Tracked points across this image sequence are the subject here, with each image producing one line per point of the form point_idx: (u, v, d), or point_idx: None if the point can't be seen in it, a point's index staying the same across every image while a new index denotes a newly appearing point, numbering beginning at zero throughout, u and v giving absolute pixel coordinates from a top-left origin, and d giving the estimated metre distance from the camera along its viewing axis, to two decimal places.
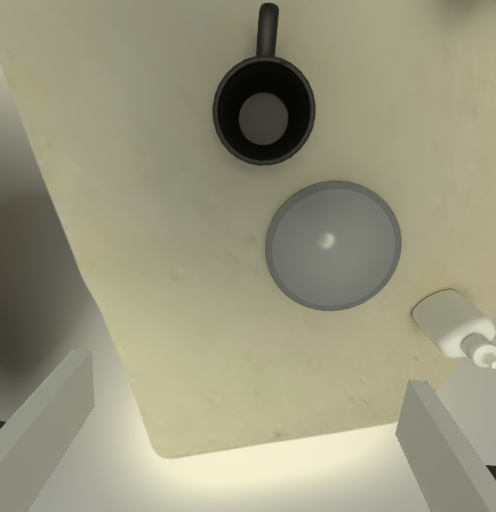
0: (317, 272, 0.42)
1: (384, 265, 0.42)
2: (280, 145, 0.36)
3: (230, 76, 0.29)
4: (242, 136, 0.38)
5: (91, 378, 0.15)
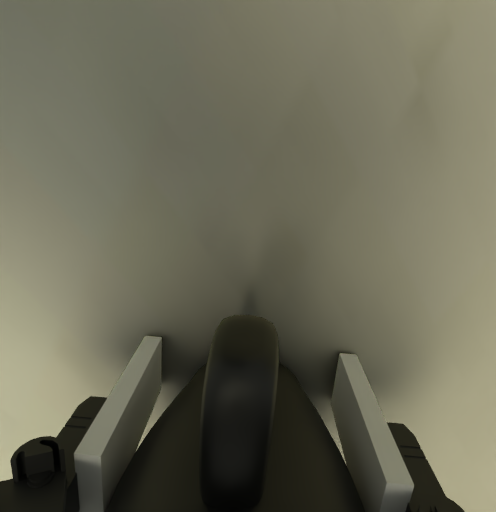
0: None
1: None
2: None
3: None
4: None
5: (160, 362, 0.17)
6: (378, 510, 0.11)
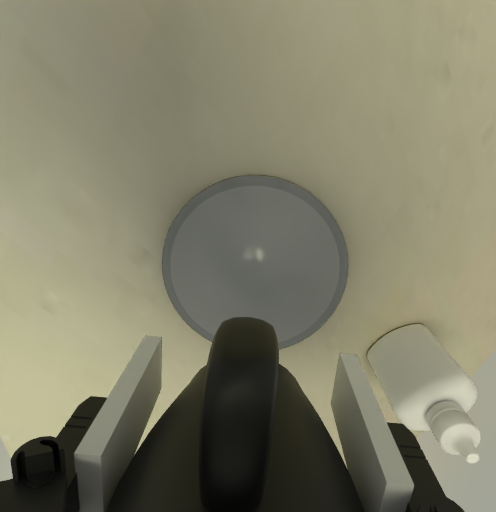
0: (234, 301, 0.31)
1: (326, 291, 0.30)
2: None
3: None
4: None
5: (160, 362, 0.17)
6: (378, 510, 0.11)
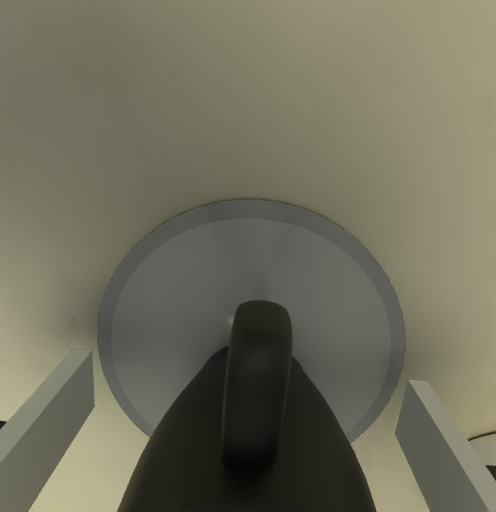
0: None
1: (367, 387, 0.18)
2: None
3: None
4: None
5: (92, 378, 0.15)
6: None
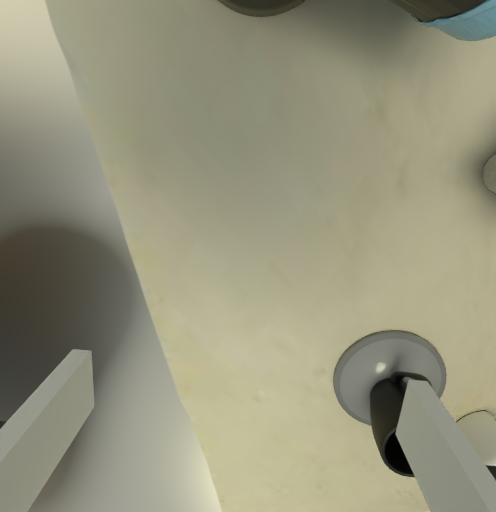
0: None
1: None
2: None
3: None
4: None
5: (91, 378, 0.15)
6: None
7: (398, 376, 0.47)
